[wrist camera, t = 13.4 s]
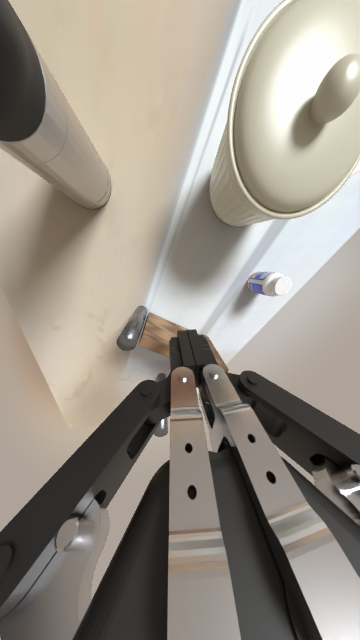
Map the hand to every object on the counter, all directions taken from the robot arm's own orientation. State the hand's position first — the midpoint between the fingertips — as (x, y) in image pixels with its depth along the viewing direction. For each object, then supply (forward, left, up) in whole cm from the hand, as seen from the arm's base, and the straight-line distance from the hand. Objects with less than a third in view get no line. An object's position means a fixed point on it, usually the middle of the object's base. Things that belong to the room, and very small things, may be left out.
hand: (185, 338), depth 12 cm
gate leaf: (+8, -8, -27) cm, 29 cm away
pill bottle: (+19, +15, -28) cm, 37 cm away
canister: (+1, +26, -28) cm, 38 cm away
